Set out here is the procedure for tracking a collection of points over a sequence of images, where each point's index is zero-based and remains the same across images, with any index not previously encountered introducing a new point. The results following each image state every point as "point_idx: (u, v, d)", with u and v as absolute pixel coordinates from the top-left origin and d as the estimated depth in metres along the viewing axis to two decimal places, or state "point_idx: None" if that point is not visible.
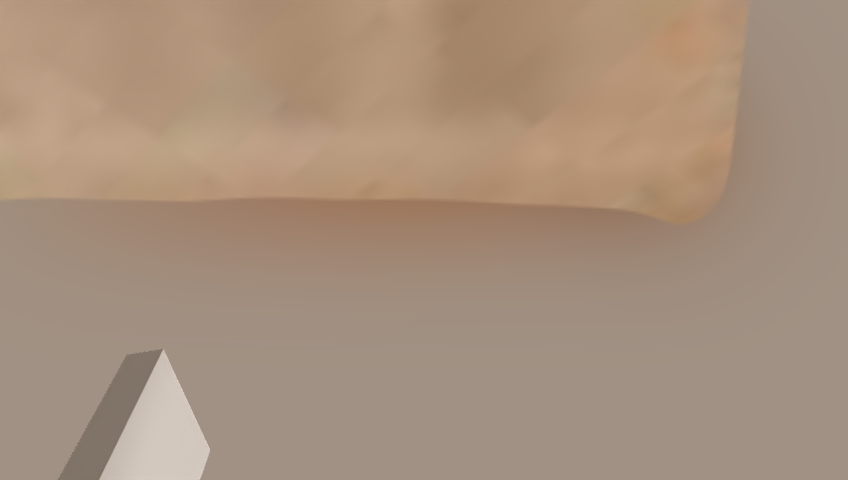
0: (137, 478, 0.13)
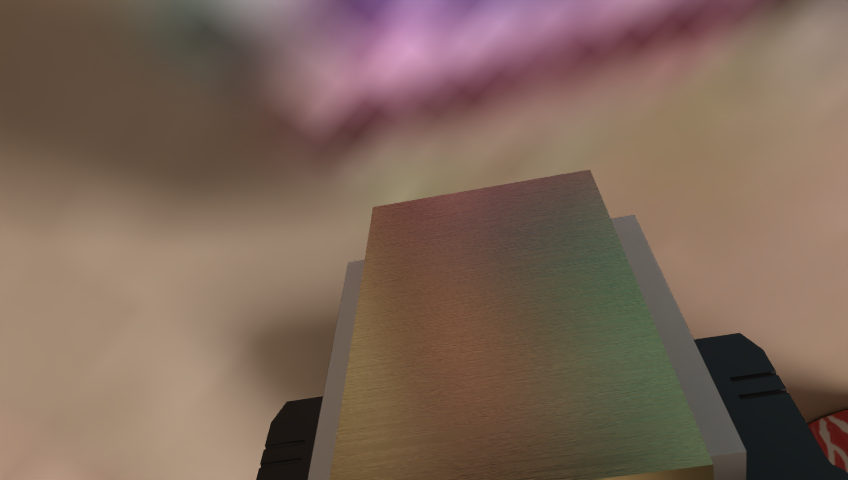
0: None
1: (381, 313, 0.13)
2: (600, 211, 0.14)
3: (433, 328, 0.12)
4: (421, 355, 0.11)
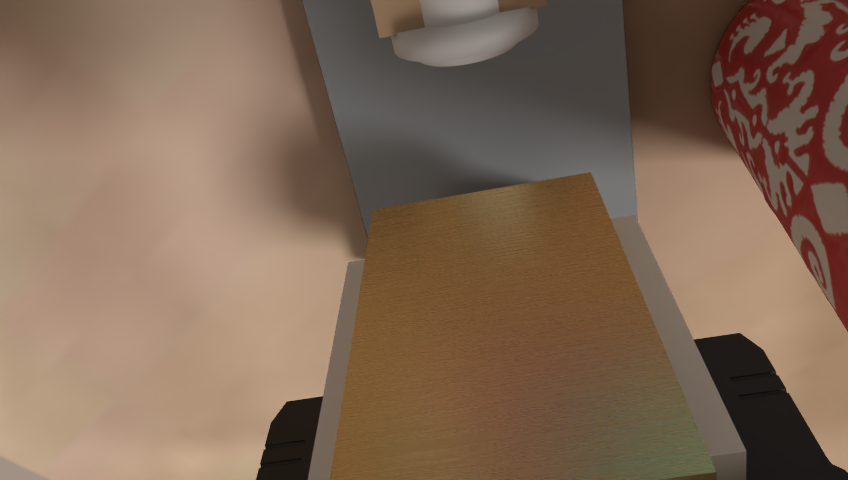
0: None
1: (381, 316, 0.12)
2: (601, 214, 0.14)
3: (433, 333, 0.12)
4: (421, 360, 0.11)
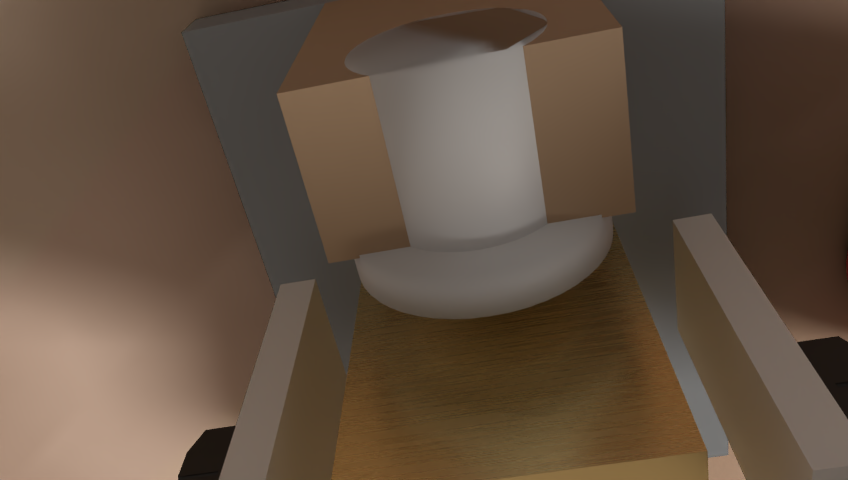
0: (309, 389, 0.14)
1: (382, 305, 0.13)
2: None
3: (433, 320, 0.12)
4: (423, 346, 0.12)
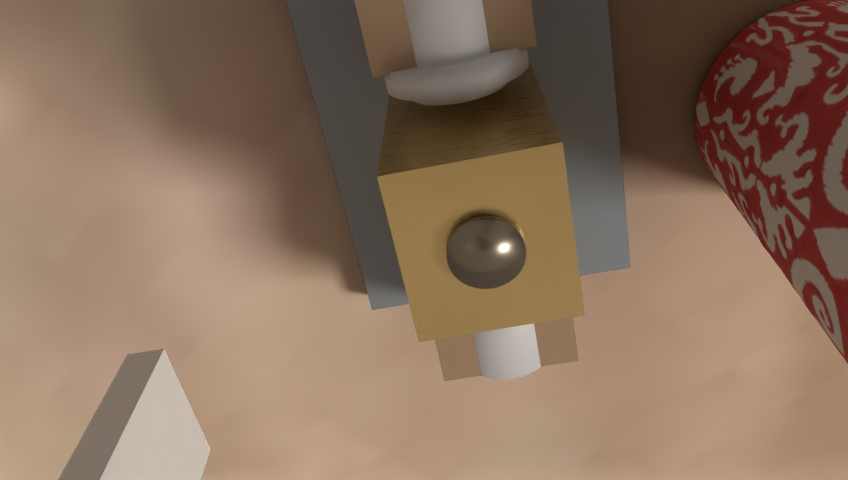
0: (138, 477, 0.13)
1: (400, 117, 0.22)
2: (528, 68, 0.24)
3: (429, 119, 0.21)
4: (424, 127, 0.21)
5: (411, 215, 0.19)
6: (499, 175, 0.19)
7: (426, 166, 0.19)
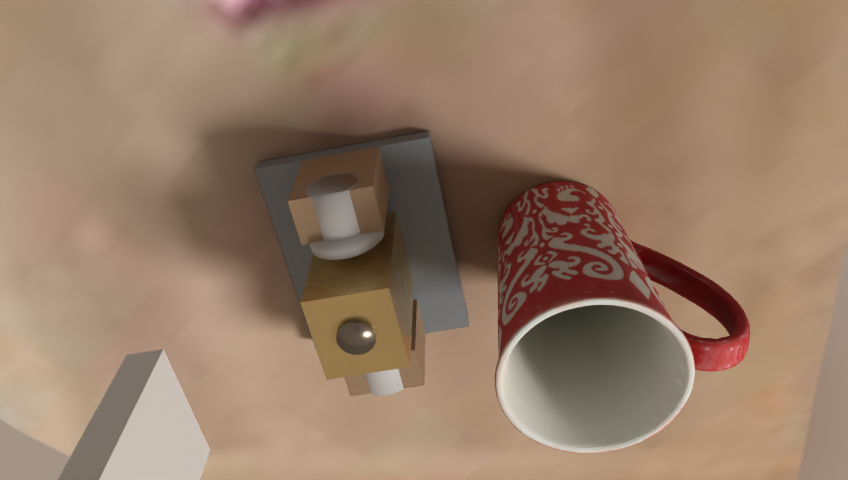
0: (137, 478, 0.13)
1: (319, 258, 0.42)
2: (392, 227, 0.43)
3: (333, 262, 0.41)
4: (329, 269, 0.40)
5: (318, 320, 0.39)
6: (359, 302, 0.38)
7: (323, 298, 0.38)
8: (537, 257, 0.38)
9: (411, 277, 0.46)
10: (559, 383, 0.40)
